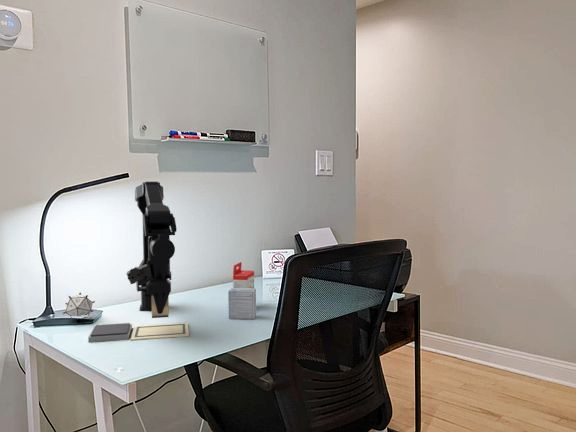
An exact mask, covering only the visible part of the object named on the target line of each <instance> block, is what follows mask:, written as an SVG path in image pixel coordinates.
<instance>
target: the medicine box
mask: <svg viewBox="0 0 576 432" xmlns="http://www.w3.org/2000/svg"><path fill="white" fill-rule="evenodd" d="M227 295H228V296H227V302H228V319H231V320H232V319H233V320H234V319H235V320H255V318H256V316H257V289H256V288H255V287H254V288H233V287H231V288H230V289H229V290H228V291H227Z"/></svg>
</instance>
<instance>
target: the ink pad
mask: <svg viewBox="0 0 576 432" xmlns="http://www.w3.org/2000/svg"><path fill="white" fill-rule="evenodd" d="M132 331H133V324H132V323H130V322H124V323H107V324H96V325H94V327H93V329H92V330H91V331H90V334H89V336H88V338H87V339H88V340H87V341H88V343H94V342H107V341H123V340H130V338H131V337H130V336H131V335H132Z"/></svg>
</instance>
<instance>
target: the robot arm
mask: <svg viewBox="0 0 576 432" xmlns="http://www.w3.org/2000/svg"><path fill="white" fill-rule="evenodd" d="M164 197H165V195H164V187H163V186H162V185H161V183H160V181H159V182H158V181H144V182H142V184H140V185H138V186H135V190H134V201H135V202H136V203H137V205H136V206H137V208H138V209H139V211H140V212H141V214H142V246H143V247H142V250H143V251H142V254H143V255H142V256H143V259H141V262H140V264H139V266H135V267H134V268H130V270H127V272H126V276H127V280H128V281H129V283H130V285H133V284H135V288H136V292H137V293H138V292H140V298H141V300H140V303H141V304H140V306H139V311H152V300H151V296H152V295H153V297H154V300H155V304H156V308H157V312H158V314H162V312H163V309H164V307H165V304H166V302H167V299H168V298H169V297H170V293H171V292H172V282H171V281H172V271H171V259H172V258H173V256H175V251H176V247H175V244H174V243H173V242H172V240H170V236H176V232H177V224H176V218H175V216H174V214H173V213H172V212H171V210H170V207H169V206H168V205H165V204H164V202H163V200H164Z"/></svg>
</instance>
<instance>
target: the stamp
mask: <svg viewBox="0 0 576 432" xmlns="http://www.w3.org/2000/svg"><path fill="white" fill-rule="evenodd" d="M151 300H152V310H151V318H152V319H159V318H161V319H162V318H169V316H170V315H169V313H170V312H169V311H170V309H169V304H170V303H169V302H170V301H169V297H168V299H167V302H166V304H165V307H164V309H163V312H162V314H158V312H157V308H156V304H155V300H154V297H153V295H152V296H151Z"/></svg>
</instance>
